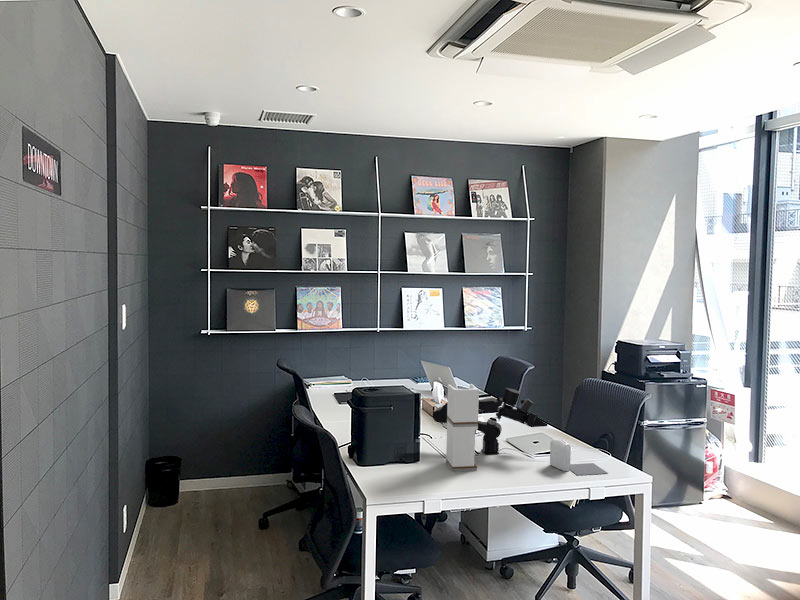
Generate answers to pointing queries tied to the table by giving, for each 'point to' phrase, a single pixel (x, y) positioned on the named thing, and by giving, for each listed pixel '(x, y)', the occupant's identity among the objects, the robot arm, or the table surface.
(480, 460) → the table surface
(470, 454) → the stacked white pillar
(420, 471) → the table surface
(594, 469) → the mat
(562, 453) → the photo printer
